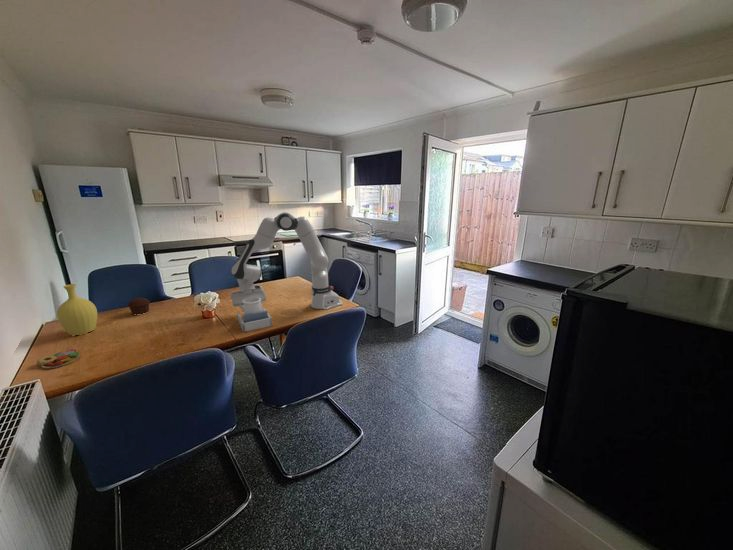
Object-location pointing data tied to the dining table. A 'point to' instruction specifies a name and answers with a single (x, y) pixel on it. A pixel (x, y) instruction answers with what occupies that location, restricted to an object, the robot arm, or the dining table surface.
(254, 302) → the jar
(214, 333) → the dining table surface
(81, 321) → the vase
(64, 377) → the dining table surface
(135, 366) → the dining table surface
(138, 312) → the muffin
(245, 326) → the open storage bin
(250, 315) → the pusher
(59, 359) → the toy food set
